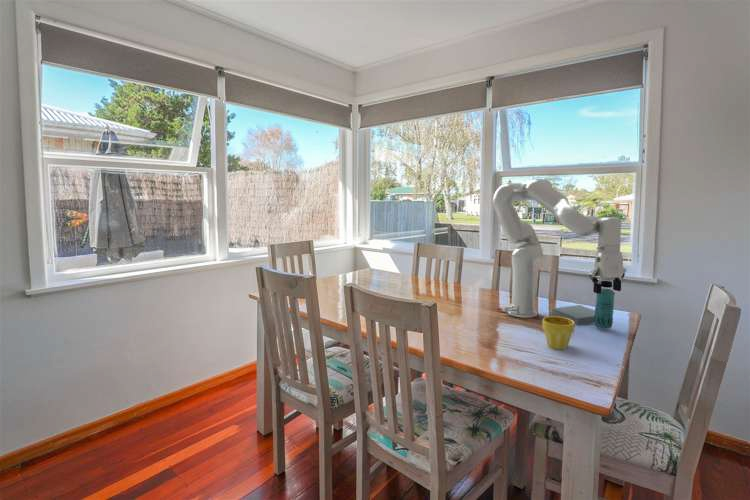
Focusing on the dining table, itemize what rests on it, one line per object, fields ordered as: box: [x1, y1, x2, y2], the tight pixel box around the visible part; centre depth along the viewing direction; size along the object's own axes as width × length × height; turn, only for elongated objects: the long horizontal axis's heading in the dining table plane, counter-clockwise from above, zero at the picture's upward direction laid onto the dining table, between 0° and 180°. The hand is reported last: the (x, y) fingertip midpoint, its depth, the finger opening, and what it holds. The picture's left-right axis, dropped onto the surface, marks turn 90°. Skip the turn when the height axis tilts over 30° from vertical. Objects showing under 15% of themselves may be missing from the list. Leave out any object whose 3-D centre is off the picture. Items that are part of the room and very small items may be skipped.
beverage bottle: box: [593, 280, 615, 330], centre depth 159 cm, size 6×7×20 cm
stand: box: [551, 304, 595, 326], centre depth 175 cm, size 15×15×3 cm
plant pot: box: [542, 315, 576, 351], centre depth 144 cm, size 10×10×10 cm
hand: (607, 291), depth 157 cm, fingers open, 9 cm apart
